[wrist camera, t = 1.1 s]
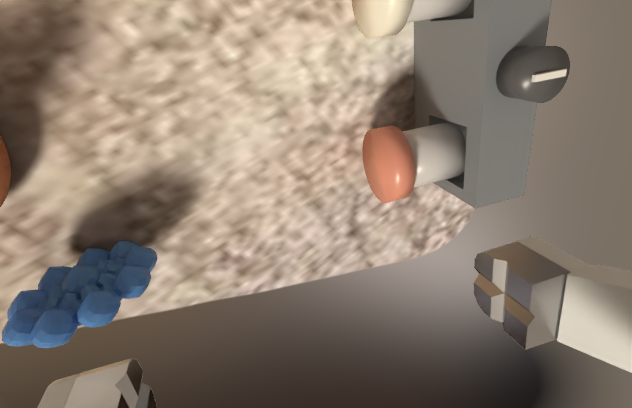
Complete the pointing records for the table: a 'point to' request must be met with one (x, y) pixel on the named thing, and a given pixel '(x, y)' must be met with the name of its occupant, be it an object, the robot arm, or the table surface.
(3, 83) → the table surface
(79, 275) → the grapes
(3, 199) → the ceramic jug
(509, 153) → the mount
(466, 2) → the cream knob
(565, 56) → the pot dial
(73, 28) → the table surface
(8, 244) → the table surface
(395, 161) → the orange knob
